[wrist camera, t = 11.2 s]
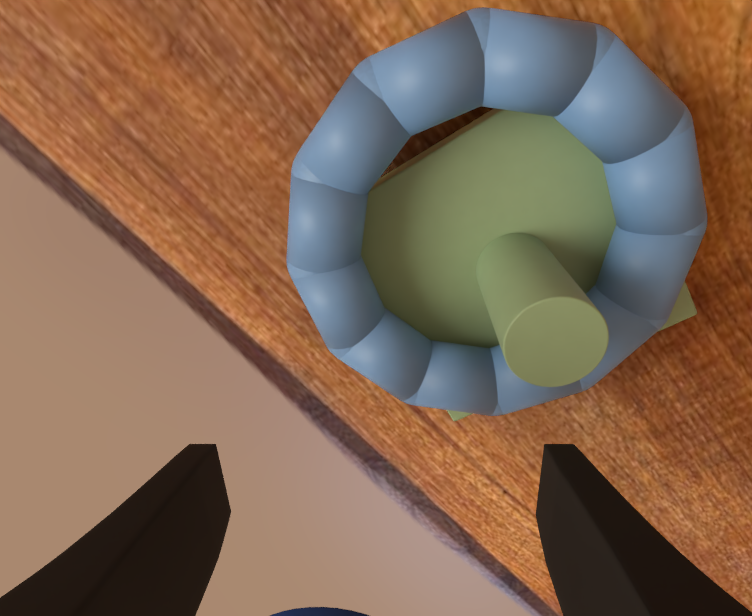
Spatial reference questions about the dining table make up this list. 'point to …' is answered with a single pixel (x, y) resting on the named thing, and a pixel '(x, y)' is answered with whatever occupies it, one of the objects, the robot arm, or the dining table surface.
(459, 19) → the ring
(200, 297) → the dining table surface
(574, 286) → the peg stand
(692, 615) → the robot arm
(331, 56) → the dining table surface
